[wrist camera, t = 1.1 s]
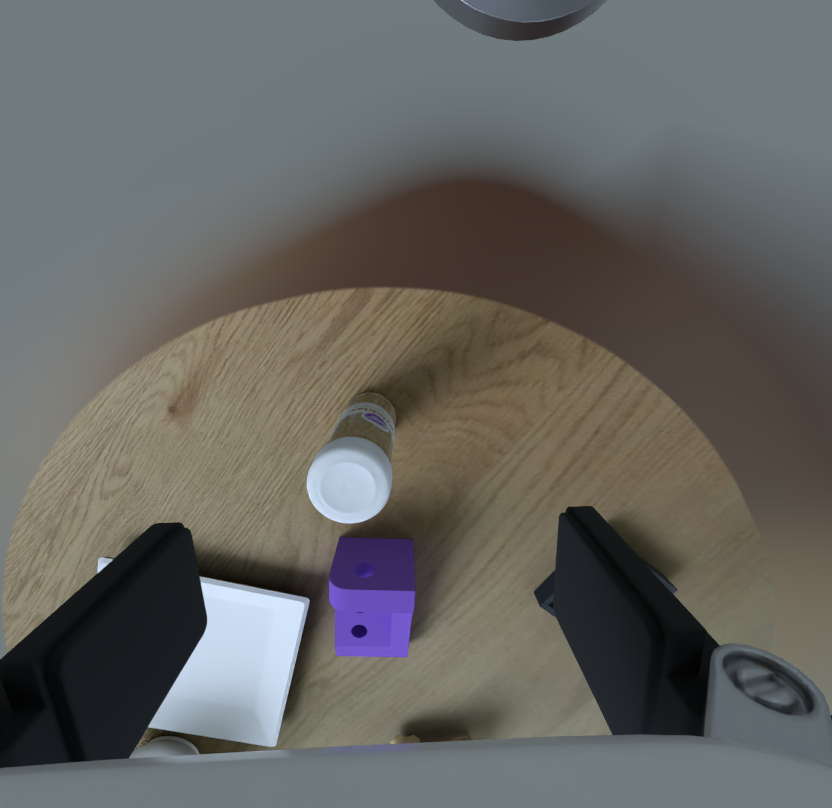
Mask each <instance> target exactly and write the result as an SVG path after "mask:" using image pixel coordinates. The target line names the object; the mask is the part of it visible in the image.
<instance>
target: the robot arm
mask: <svg viewBox="0 0 832 808" xmlns="http://www.w3.org/2000/svg"><path fill="white" fill-rule="evenodd" d="M553 606H554V612H555V615H556V618H557V620H558V622H559V624H560V626H561V629H562V631H563V633H564V635H565V637H566V639H567V641H568V643H569V645H570V647H571V649H572V651H573V653H574V656H575V658H576V660H577V662H578V664H579V666H580V668H581V670H582V672H583V674H584V676H585V678H586V680H587V683H588V685H589V687H590V689H591V691H592V693H593V695H594V697H595V699H596V701H597V703H598V705H599V707H600V710H601V712H602V714H603V716H604V718H605V720H606V722H607V724H608V726H609V728H610V730H611V732H612V735H600V736H561V737H535V738H513V739H491V740H469V741H447V742H425V743H404V744H384V745H364V746H345V747H325V748H306V749H287V750H269V751H250V752H232V753H215V754H198V755H181V756H164V757H147V758H130V759H129V757H130V756H131V754H132V752H133V751H134V749H135V747H136V746H137V744H138V742H139V741H140V739H141V737H142V736H143V734H144V732H145V731H146V729H147V727H148V726H149V724H150V722H151V721H152V719H153V717H154V716H155V714H156V713H157V711H158V709H159V708H160V706H161V704H162V703H163V701H164V699H165V698H166V696H167V694H168V693H169V691H170V689H171V688H172V686H173V684H174V683H175V681H176V679H177V678H178V676H179V674H180V673H181V671H182V669H183V668H184V666H185V664H186V663H187V661H188V659H189V658H190V656H191V654H192V653H193V651H194V650H195V648H196V646H197V645H198V643H199V641H200V640H201V638H202V636H203V634H204V632H205V630H206V626H207V613H206V608H205V603H204V598H203V592H202V587H201V582H200V577H199V571H198V566H197V561H196V556H195V551H194V545H193V540H192V535H191V532H190V530H189V529H188V528H184V526H183V524H182V523H157V524H154V525H152V526H151V527H149V528H148V529H147V530H146V531H145V532H144V533H143V534H142V535H140V536H139V537H138V538H137V539H136V540H135V541H134V542H133V543H131V544H130V545H129V546H128V547H127V548H126V549H125V550H124V551H122V552H121V553H120V554H119V555H118V556H117V557H116V558H114V559H113V560H112V561H111V562H110V563H109V564H108V565H107V566H105V567H104V568H103V569H102V570H101V571H100V572H99V573H98V574H96V575H95V576H94V577H93V578H92V579H91V580H90V581H89V582H87V583H86V584H85V585H84V586H83V587H82V588H81V589H79V590H78V591H77V592H76V593H75V594H74V595H73V596H72V597H70V598H69V599H68V600H67V601H66V602H65V603H64V604H63V605H61V606H60V607H59V608H58V609H57V610H56V611H55V612H54V613H52V614H51V615H50V616H49V617H48V618H47V619H46V620H44V621H43V622H42V623H41V624H40V625H39V626H38V627H37V628H35V629H34V630H33V631H32V632H31V633H30V634H29V635H28V636H26V637H25V638H24V639H23V640H22V641H21V642H20V643H19V644H17V645H16V646H15V647H14V648H13V649H12V650H11V651H10V652H8V653H7V654H6V655H5V656H4V657H3V658H2V659H0V808H832V715H830V711H829V706H828V704H827V702H826V700H825V697H824V695H823V694H822V692H821V691H820V690H819V689H818V687H817V686H816V685H815V684H814V683H813V681H812V680H810V679H809V678H808V677H807V676H806V675H804V674H803V673H802V672H801V671H800V670H798V669H797V668H796V667H794V666H793V665H791V664H789V663H788V662H786V661H785V660H783V659H782V658H779V657H777V656H775V655H773V654H771V653H769V652H767V651H765V650H762V649H758V648H755V647H752V646H749V645H742V644H734V643H733V644H725V645H721V646H719V645H718V643H717V642H716V641H715V640H714V639H713V638H712V637H711V636H710V635H709V634H708V633H707V631H706V630H705V628H704V627H703V626H702V625H701V624H700V623H699V622H698V621H697V620H696V619H695V618H694V617H693V615H692V614H691V613H690V612H689V611H688V610H687V609H686V608H685V607H684V606H683V605H682V603H681V602H680V601H679V600H678V599H677V598H676V597H675V596H674V595H673V594H672V593H671V591H670V590H669V589H668V588H667V587H666V586H665V585H664V584H663V583H662V582H661V581H660V580H659V578H658V577H657V576H656V575H655V574H654V573H653V572H652V571H651V570H650V569H649V568H648V566H647V565H646V564H645V563H644V562H643V561H642V560H641V559H640V558H639V557H638V556H637V554H636V553H635V552H634V551H633V550H632V549H631V548H630V547H629V546H628V545H627V544H626V542H625V541H624V540H623V539H622V538H621V537H620V536H619V535H618V534H617V533H616V532H615V531H614V529H613V528H612V527H611V526H610V525H609V524H608V523H607V522H606V521H605V520H604V519H603V517H602V516H601V515H600V514H599V513H598V512H597V511H596V510H595V509H594V508H593V507H592V506H579V507H568V508H567V509H566V513H561V514H560V516H559V526H558V540H557V554H556V569H555V583H554V598H553Z"/></svg>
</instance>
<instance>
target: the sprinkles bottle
mask: <svg viewBox="0 0 832 808" xmlns="http://www.w3.org/2000/svg"><path fill="white" fill-rule="evenodd" d="M395 424H396V412H395V409H394V407H393V405H392V404H391V403H390V402H389V400H387V398H385V397H384V396H382V395H381V394H377V393H372V392H370V393H361V394H359V395H357V396H355V397H354V398H353V399H351V400H350V401H349V403H348V404H347V406H346V407H345V411H344V413H343V414H342V416H341V417H340V419H339V421H338V423H337V424H336V426H335V428H334V430H333V432H332V434H331V435H330V437H329V439H328V442H327V444H326V445H325V446H324V447H323V448H322V449H321V450H320V451H319V453H318V454H317V456H316V458H315V459H314V461H313V463H312V465H311V467H310V469H309V472H308V476H307V491H308V495H309V498H310V499H311V502H312V503H313V505H314V506H315V507H316V509H317V510H318V511H319V512H320V513H322V514H323V515H324V516H326V517H327V518H329V519H331V520H334V521H337V522H341V523H358V522H362V521H365V520H368V519H370V518H372V517H373V516H375V515H376V514H377V513H378V512H379V511H380V510H381V509H382V508H383V507H384V506H385V504H386V502H387V500H388V498H389V495H390V490H391V485H392V468H391V455H392V450H393V445H394V435H395Z"/></svg>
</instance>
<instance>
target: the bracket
mask: <svg viewBox="0 0 832 808" xmlns="http://www.w3.org/2000/svg"><path fill="white" fill-rule="evenodd" d="M329 601H330V603H331V605H332V606H333V607H334V608H335V649H336V656H374V657H407V655H408V646H409V637H410V629H411V620H412V614H414V602H415V573H414V546H413V539H384V538H352V537H340V538H339V541H338V545H337V548H336V552H335V556H334V559H333V563H332V567H331V570H330V574H329Z"/></svg>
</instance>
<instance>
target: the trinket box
mask: <svg viewBox="0 0 832 808" xmlns="http://www.w3.org/2000/svg"><path fill="white" fill-rule="evenodd" d="M198 754H200V753H199V751H198V749H197V748H196V747H195V746H194V745H193V744H192V743H191V742H189V741H188V740H186V739H183V738H180V737H176V736H161V737H157V738H155V739H153V740H151V741H150V742H149V743H147V744H144V745H142V746H140V747H138V748H136V749H134V751H133V752H132V754H131V756H130V757H129V759H130V758H147V757H164V756H181V755H198Z"/></svg>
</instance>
